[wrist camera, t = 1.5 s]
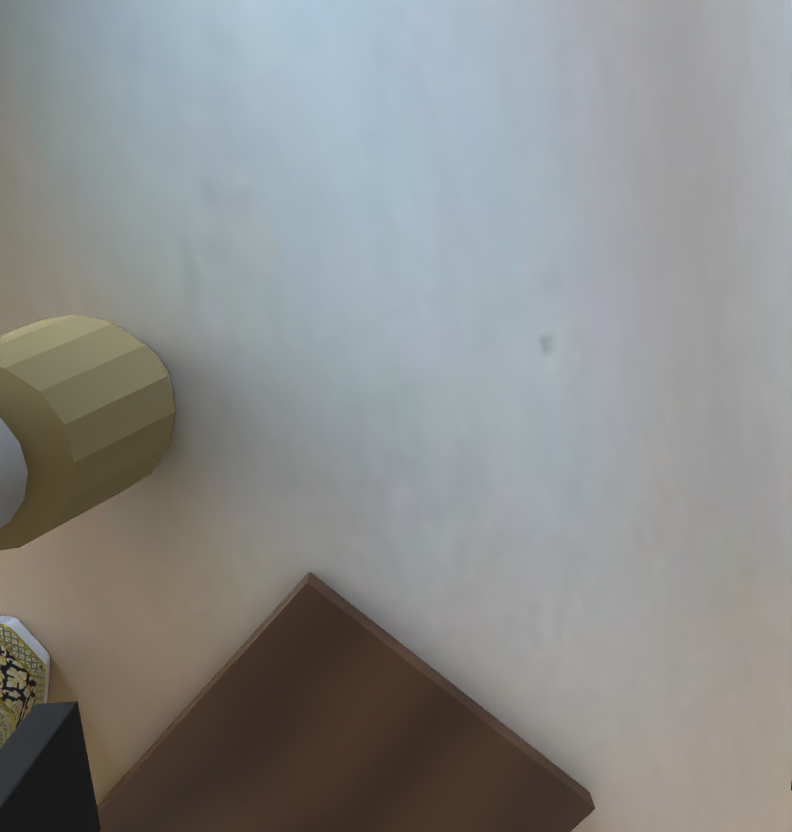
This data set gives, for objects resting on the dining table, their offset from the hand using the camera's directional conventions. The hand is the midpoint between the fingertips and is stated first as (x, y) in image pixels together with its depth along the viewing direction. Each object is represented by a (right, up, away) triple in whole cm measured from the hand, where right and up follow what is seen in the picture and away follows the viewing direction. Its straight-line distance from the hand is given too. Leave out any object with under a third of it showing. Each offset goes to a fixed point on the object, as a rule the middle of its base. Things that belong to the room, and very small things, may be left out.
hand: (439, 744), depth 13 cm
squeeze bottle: (-14, +7, +21) cm, 27 cm away
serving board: (-5, -17, +27) cm, 32 cm away
